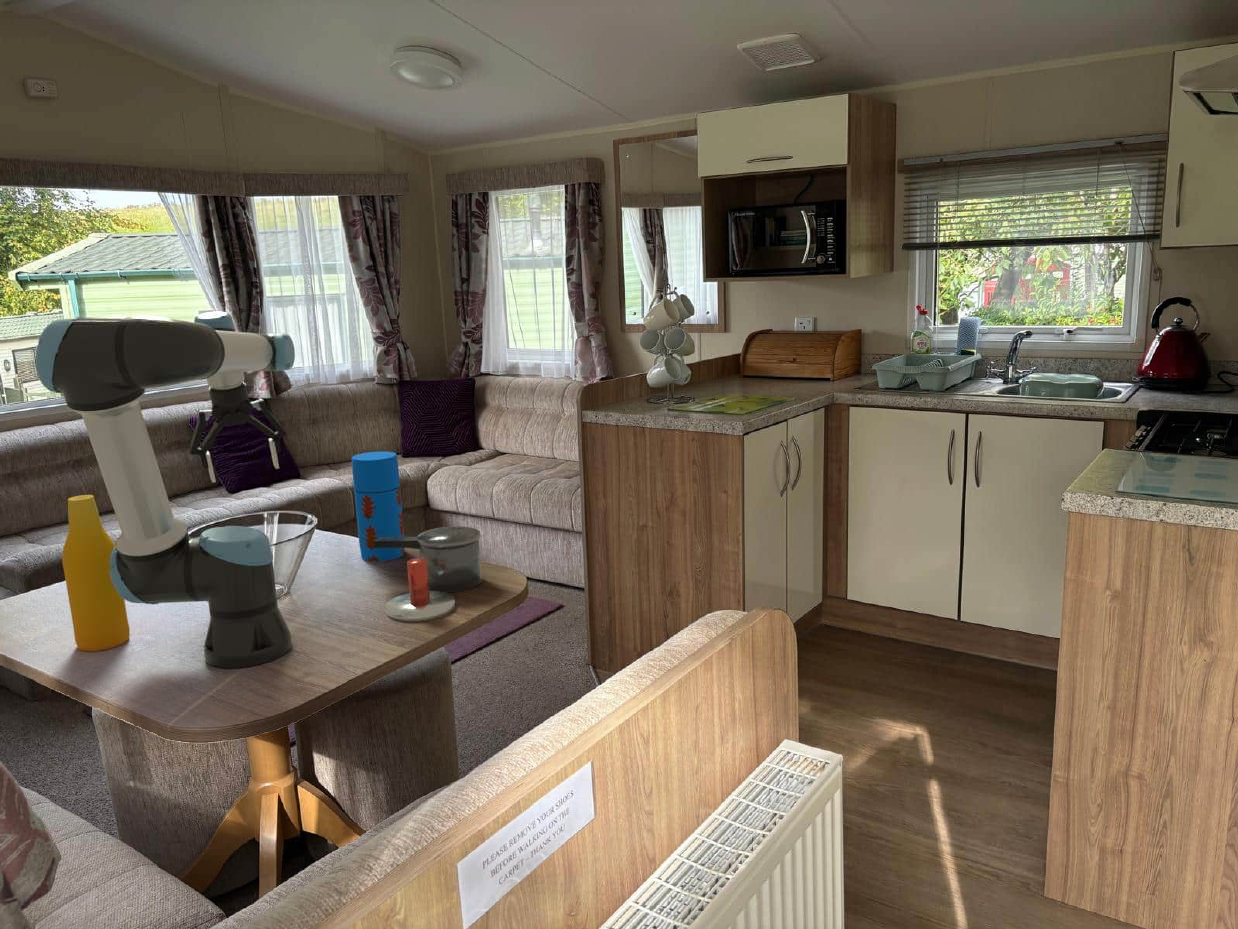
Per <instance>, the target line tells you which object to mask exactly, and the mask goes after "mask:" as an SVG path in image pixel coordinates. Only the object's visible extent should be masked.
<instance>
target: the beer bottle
mask: <svg viewBox="0 0 1238 929" xmlns="http://www.w3.org/2000/svg"><path fill="white" fill-rule="evenodd" d="M67 511H68V512H67V514H68V533H67V535H66V539H65V542H64V545H63V549H62V557H61V561H62V567H63V572H64V578H65V579H64V580H65V585H66V590H67V591H66V592H67V596H68V603H69V608H70V615H71V619H72V620H71V621H72V625H73V626H72V627H73V634H74V640H75V644H76V647H77V649H79V650H80V651H83V652H101V650H102V651H106V650H109V649H111V650H112V649H114V648H116V647H119V646H121V645H124V643H126V642H127V641H128V640H129V639H130V632H131V631H130V630H131V629H130V624H129V619H128V614H127V607H126V600H125V599H124V598H122V597H121V596H120V595H119V594H118V592H117V591H116V589H115V587H114V585H113V583H112V580H111V576H110V570H111V566H110V564H109V563H110V556H111V553H112V551H113V549H114V548H115V546H116V543H115V542H114V541H113V539H112V537H111V536H110V534H109V533H108V532H107V531H106V529H105V528H104V527H103V523H102V521H101V517H100V515H99V514H100V513H99V511H98V507H97V504H96V501H95V496H94V495H92V494H84V495H83V494H82V495H75V496H72V497H69V498H67Z"/></svg>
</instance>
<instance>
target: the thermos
mask: <svg viewBox="0 0 1238 929" xmlns="http://www.w3.org/2000/svg"><path fill="white" fill-rule="evenodd" d="M351 470H352V471H351V472H352V481H353V492H354V502H355V512H356V513H355V514H356V515H355V516H356V522H357V534H358V544H359V550H360V556H361V560H364V561H368V562H385V561H392V560H395V559H399V558H400V557H403V556H404V555H405V553H406V552H405V549H406V548H374V541H375V540H376V539H377V538H378V537H405V529H404V519H403V518H404V517H403V506H402V496H401V495H402V494H401V493H402V492H401V484H400V471H399V462H398V456H397V453H396V452H392V451H370V452H363V453H359V454H354V455H353V456H352V457H351Z"/></svg>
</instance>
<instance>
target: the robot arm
mask: <svg viewBox="0 0 1238 929" xmlns="http://www.w3.org/2000/svg"><path fill="white" fill-rule="evenodd" d="M232 317H233V316H232V315H231V314H230V313H229V312H226V311H210V312H209V311H207V312H204V313H200V314H198V315H197V316H195V317H194V320H193V321H194V322H192V321H186V320H181V319H175V318H169V317H163V316H155V315H131V316H130V315H129V316H128V315H127V316H126V315H124V316H123V315H122V316H95V317H92V316H90V317H84V316H76V317H73V318H60V319H57V320H54V321H52V322H50V323H49V324H48V325H46V327H45V328H44V329H43V331H42V333H40V336H39V339H38V344H37V345H36V352H35V364H36V365H35V367H36V373H37V375H38V378H39V381H40V383H41V385H42V386H43V387H44V388H46V389H47V390H48V391H49V392H52V393H56V394H63V397H64V400H65V403H66V405H67V408H68V409H69V410H70V411H72V412H74V413H77V414H79V415H81V417H82V420H83V422H84V426H85V429H86V432H87V434H88V437H89V440H90V444H91V446H92V449H93V453H94V455H95V457H96V461H97V463H98V464H97V465H98V467H99V470H100V472H101V476H102V478H103V482H104V485H105V488H106V490H107V491H106V492H107V493H108V496H109V499H110V502H111V505H112V508H113V510H114V511H113V512H114V513H115V514H114V515H115V517H116V519H117V523H118V526H119V528H120V531H121V533H120V535H119V536H118V537H117V538H116V539H117V540H116V542H115V548H114V549H113V551H112V553H111V556H110V563H109V564H110V566H111V570H110V576H111V580H112V583H113V585H114V587H115V589H116V591H117V592H118V594H119V595H120V596H121V597H122V598H124V600H125V601H127V602H130V603H133V604H146V605H158V604H167V603H168V604H169V603H192V602H194V603H195V602H196V603H197V602H208V604H207V605H208V609H209V610H208V611H209V617H210V618H209V623H208V626H207V631H206V632H207V633H206V636H205V640H204V646H203V652H204V660H205V662H206V664H208V665H210V666H213V667H216V668H224V669H237V668H239V669H240V668H248V667H253V666H257V665H261V664H264V663H268V662H271V661H273V660H276V659H278V658H280V657H282V656H283V655H285V654H287V652H289V651H290V650H291V649H292V646H293V642H292V633H291V630H290V629H289V627H288V624H287V623H286V621H285V619H284V616H283V615H282V612H281V611H280V608H279V606H278V599H277V589H276V579H275V570H274V561H273V560H274V556H273V552H272V550H271V548H272V547H271V544H270V543H271V542H270V539H269V537H268V535H267V534H266V533H265V532H263V531H262V530H260V529H258V528H253V527H250V526H243V525H242V526H241V525H224V526H221V527H220V526H215V527H211V528H209V529H206V530H204V531H203V532H201V533H200V536H199V537H190V535H189V532H188V529H187V528H188V527H187V526H186V523H184V522H183V521H182V520H179V519H177V518H175V517H174V514H173V510H172V508H171V504H170V500H169V497H168V493H167V491H166V488H165V483H164V481H163V478H162V475H161V471H160V468H159V464H158V461H157V458H156V455H155V451H154V448H153V446H152V441H151V439H150V435H149V432H148V429H147V426H146V423H145V418H144V415H143V412H142V409H141V405H140V403H139V402H140V401H141V399H142V398H143V396H144V395H145V394H146V390H148V389H157V388H162V387H169V386H174V385H179V384H184V383H187V382H188V383H189V382H194V381H200V380H201V381H202V380H206V382H207V386H209V387H208V392H209V397H210V402H211V409H205V410H204V409H203V408H199V409H197V420H196V421H197V422H196V425H195V428H194V431H193V434H192V437H191V442H190V444H189V447H188V451H189V453H190V455H192V456H194V455H196V456H197V455H198V456H199V458H200V462H201V463H200V464H201V465H202V468H203V469H208V474H209V479H210V480H211V483H212V484H213V483H216V482H217V481H216V476H215V471H214V467H213V463H212V457H211V453H210V451H209V450H210V448H211V447H212V444H214V441H215V440H216V438H217V437H218V435H219V434H220V432H221V431H223V429H224V427H225V426H226V427H229V428H230V427H233V426H235V425H237V426H238V425H244V423H245V422H247V423H249V424H250V425H252V426H254V428H256V429H258V430H259V431H260V432H262V433H263V434H264V435H266V436H267V437H269V438H268V442H269V443H268V444H269V449H270V452H271V460H272V463H273V466H274V468H275V470H278V469H280V466H279V465H280V464H279V459H278V454H281V451H282V449H281V443H280V439H281V438H282V437H286V436H287V432H286V430H285V429H284V427H283V426H282V425H281V424H280V423H279V422H278V420H277V419H276V418H275V416H273V414H272V412H270V411H269V410H268V408H267V405H266V402H265V400H264V399H263V398H262V397H259V398H257V399H256V400H255V401H250V399H249V392H248V388H247V383H245V382H244V381H245V373H248V372H249V373H251V372H281V371H288V370H290V369H292V368H293V366H294V363H295V359H296V351H295V345H294V341H293V340H292V337H291V336H290V335H289V334H287V333H276V332H272V333H257V332H256V333H254V332H244V331H243V332H242V331H240V332H239V331H236V327H235V324H234V320H233V318H232ZM244 372H245V373H244ZM253 408H255V409H256V410H257V411H261V412H262V414H263V416H265V418H266V419H267V420H268V421H269V422H270V424H271V425H272V426H273V428H275V429H276V431H274V430H273V429H271V428H270V427H268V426H267V425H265V424H264V423H262V422H261V421H260V420H258V419H257V418H256V417H254V416H253V415H252V414H251V412H252V410H253ZM211 416H212V417H214V418H215V421H214V423H213V425H212V427H211V428H210V429H209V431H208V433H207V435H206V436H205V438H204V439H203V441H202V443H201V444H200V442H201V439H202V436H203V432H204V429H205V426H206V421H209V419H210V417H211Z"/></svg>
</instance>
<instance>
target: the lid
mask: <svg viewBox="0 0 1238 929" xmlns="http://www.w3.org/2000/svg"><path fill="white" fill-rule="evenodd" d="M406 564H407V565H406V566H407V576H408V577H407V578H408V590H409V592H408V593H405V594H401V595H398V596H396V597H394V598H392V599H390V600H388V602H387V603H386V604H385V612H386V613H385V614H386V616H387V617H388V618H390V619H392V620H395V621H398V622H406V623H407V622H410V623H411V622H412V623H415V622H422V621H421V620H425V621H428V620H427V619H431V620H434V619H438V618H437V617H439V618H441V617H440V616H442V617H444V616H446V615H448V614H450V613H451V612H453V611H454V610H455V608H456V599H455V597H454V596H453V595H452V594H450V593H449V592H439V591H429V579H428V567H427V560H426V559H424V558H420V557H416V558H411V559H408V560H407V562H406ZM454 607H455V608H454ZM447 613H448V614H447ZM414 621H415V622H414Z"/></svg>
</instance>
